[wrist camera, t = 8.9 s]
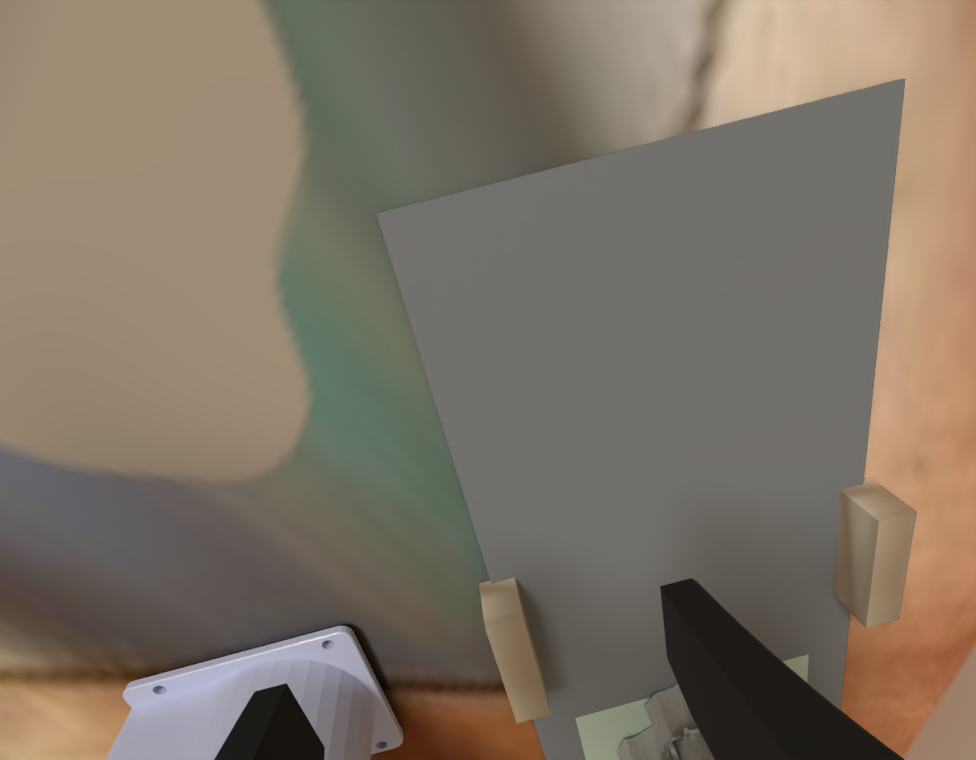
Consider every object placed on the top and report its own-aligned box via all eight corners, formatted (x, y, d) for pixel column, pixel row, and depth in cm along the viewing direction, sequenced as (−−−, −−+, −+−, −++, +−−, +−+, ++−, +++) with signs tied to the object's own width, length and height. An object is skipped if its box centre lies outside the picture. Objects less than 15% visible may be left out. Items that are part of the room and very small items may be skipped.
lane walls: (508, 675, 24) (516, 723, 22) (478, 583, 22) (485, 627, 20) (859, 580, 24) (899, 619, 22) (871, 478, 22) (916, 511, 20)
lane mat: (572, 845, 31) (573, 850, 31) (376, 213, 15) (376, 213, 15) (830, 774, 31) (833, 778, 31) (899, 79, 15) (905, 78, 15)
